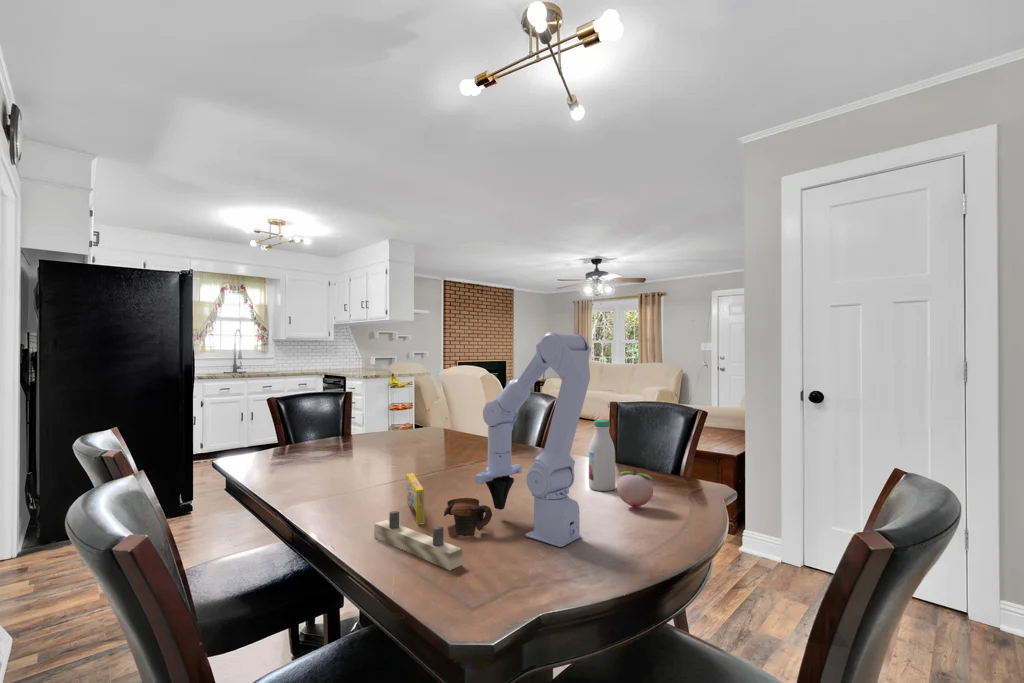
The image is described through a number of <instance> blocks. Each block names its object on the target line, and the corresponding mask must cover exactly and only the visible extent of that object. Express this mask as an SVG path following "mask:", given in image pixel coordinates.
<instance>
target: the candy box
mask: <svg viewBox="0 0 1024 683" xmlns="http://www.w3.org/2000/svg"><path fill="white" fill-rule="evenodd" d="M405 480H406V504H408V505H407V506H409V507H408V509H409V508H410V509H409V511H410V510H411V511H410V512H412V513H411V515H412V514H413V515H412V516H414V517H413V518H415V519H414V520H416V521H415V522H417V523H416V525H417V524H420V523H426V522H425V521H426V520H425V518H426V516H425V515H426V514H425V490H424V488H423V486H422V484H421V483H420V482H419V480H418V478H417V476H415V474H414V473H413V472H412V473H406V478H405Z"/></svg>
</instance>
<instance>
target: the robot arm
mask: <svg viewBox="0 0 1024 683" xmlns="http://www.w3.org/2000/svg"><path fill="white" fill-rule="evenodd" d="M591 350H592V348H591V346H590V345H589V342H588V341H587V339H586V338H585V337H584V336H583V335H582V334H579V333H559V332H558V333H557V332H554V331H553V332H552V331H549V332H547V333H544V335H543V336H542V337H541V339H540V341H539V342H538V343H537V344H536V345H535V353H534V354H533V355H532V357H531V359H530V360H529V361H528V363H527V365H526V366H525V368H524V369H523V371H522V373H521V374H520V375H519V377H518V378H517V379H516V378H512V379H511V380H507V382H506V383H505V387H504V388H503V390H502V391H501V392H500V393H499V394H498V395H497V396H496V398H495V399H494V400H493V401H487V402H486V403H485V404H484V407H483V409H482V418H483V420H484V421H483V422H484V423H485V424H486V425H487V467H485V470H483V471H482V472H479V473H477V474H475V475H474V477H475V478H474V480H475V482H474V483H475V484H479V485H484V484H486V486H487V488H488V490H489V492H490V494H491V498H492V502H493V507H494V509H496V510H499V511H500V510H502V511H503V509H505V507H506V503H507V499H508V495H509V492H510V489H511V488H512V486H513V485H514V482H515V478H513V477H510V476H512V475H516V474H522V472H523V468H522V467H523V466H522V464H516V463H515V464H512V437H513V436H512V433H513V432H512V431H513V430H514V424H515V422H516V420H517V417H518V413H517V412H518V411H519V410H520V408H521V407H522V406H523V405H524V403H525V402H526V401H527V400H528V399H529V398H530V396H531V387H532V386H533V385H534V384H535V383H536V382H537V381H538V380H539V379H540V378H541V376H543V375H544V373H545V372H546V371H547V370H548V369H549V368H551V369H552V370H553V371H554V372H555V373H556V374H557V375H558V377H559V379H560V380H561V383H560V387H559V392H558V395H557V399H556V403H555V407H554V409H553V410H554V411H553V414H552V418H551V422H550V426H549V430H548V433H547V437H546V442H545V445H544V448H543V450H542V451H541V452H540V453H539V454H538V455H537V456H536V457H535V458H534V459H533V464H532V466H531V467H530V468H529V469H528V471H527V473H526V480H525V481H526V485H527V488H528V490H529V491H530V493H531V496H532V497H533V511H534V512H533V530H531V531H529V532H526V533H525V537H526V538H531V539H534V540H536V541H539V542H543V543H546V544H549V545H552V546H555V547H559V548H563V547H564V546H566V545H568V544H570V543H572V542H574V541H576V540H578V539H580V538H582V534H581V533H580V506H579V503H578V501H577V500H575V499H573V498H571V497H570V496H569V495H568V494H569V493H570V488H571V487H572V486H573V485H574V482H575V471H574V469H575V464H576V461H575V459H574V458H573V457H572V456H571V455H570V454H571V451H572V447H573V444H574V440H575V435H576V432H577V429H578V424H579V420H580V417H581V413H582V410H583V406H584V403H585V399H586V395H587V391H588V387H589V384H590V381H591V373H590V364H589V362H590V361H589V360H590V359H589V358H590V355H591Z"/></svg>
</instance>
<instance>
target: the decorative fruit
mask: <svg viewBox="0 0 1024 683" xmlns="http://www.w3.org/2000/svg"><path fill="white" fill-rule="evenodd" d="M633 470H634V472H632V471H629V470H627V471H620V472H619V473H618V474H617V475H616V476H619V478H618V480H617V482H616V483H617V485H616V490H617V494H618V496H619V497H620V499H621V500H622V502H624V503H625V504H626V505H628V506H631V507H632V508H634V509H636V508H639V507H642V506H644V505H646V504H647V503H649V502H650V500H651V499H652V497H653V494H654V485H653V482H655V481H654V478H653V477H652V476H650V475H649V474H647V473H643V472H638V473H637V472H636V471H637V470H636V468H634V469H633ZM652 481H653V482H652Z"/></svg>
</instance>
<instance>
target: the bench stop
mask: <svg viewBox="0 0 1024 683" xmlns="http://www.w3.org/2000/svg"><path fill="white" fill-rule="evenodd" d="M388 515H389V520H388V519H385V520H381V521H378V522H375V523H374V528H373V532H374V534H373V538H374V537H375V539H376V538H377V540H379V541H381V540H382V542H383V541H384V542H383V543H386V542H387V543H386V544H388V543H389V544H388V545H390V546H392V545H393V547H395V548H397V547H398V548H397V549H399V548H400V549H399V550H402V549H403V550H402V551H404V550H405V551H404V552H406V551H407V553H409V554H411V553H412V554H411V555H413V554H414V556H415V555H416V557H418V558H420V557H421V558H420V559H422V558H423V559H422V560H424V561H427V562H429V561H430V562H429V563H432V564H434V565H436V566H438V565H439V567H441V568H442V569H446V570H447V571H452V570H455V569H456V568H458V567H461V566H462V564H463V548H461V547H459V546H456V545H453V544H451V543H448V542H446V541H444V531H445V530H444V527H443V526H440V525H439V526H434V527H432V536H431V535H430V536H429V535H427V534H426V533H425V534H424V533H422V532H419V531H416V530H414V529H411V528H408V527H406V526H403V525H401V524H400V511H399V510H392V511H389V513H388Z"/></svg>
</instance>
